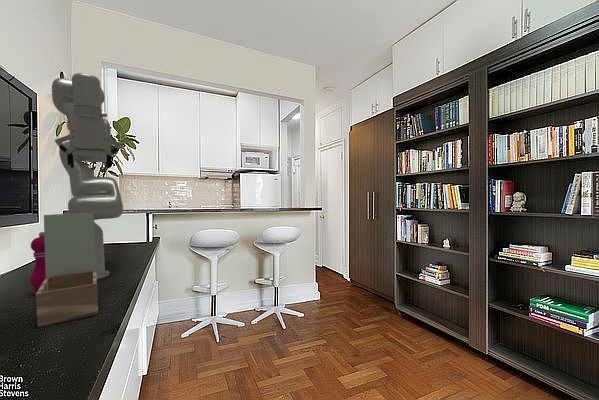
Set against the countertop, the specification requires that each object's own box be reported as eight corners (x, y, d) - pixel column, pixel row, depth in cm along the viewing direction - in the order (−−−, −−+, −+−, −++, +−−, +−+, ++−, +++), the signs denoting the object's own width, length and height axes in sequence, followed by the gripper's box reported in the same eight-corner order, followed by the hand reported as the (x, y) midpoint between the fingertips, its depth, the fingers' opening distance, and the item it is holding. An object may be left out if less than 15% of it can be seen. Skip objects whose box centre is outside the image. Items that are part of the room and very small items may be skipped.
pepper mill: (43, 296, 94) (39, 233, 93) (24, 295, 95) (21, 233, 95) (65, 289, 101) (62, 230, 101) (48, 288, 103) (44, 230, 102)
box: (47, 305, 86) (45, 277, 86) (97, 295, 93) (96, 270, 93) (37, 327, 71) (35, 294, 71) (98, 314, 78) (96, 284, 78)
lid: (45, 277, 86) (48, 276, 91) (96, 269, 93) (96, 269, 98) (43, 213, 88) (46, 216, 93) (93, 210, 95) (93, 213, 100)
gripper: (118, 120, 104) (120, 169, 105) (54, 114, 95) (57, 168, 95) (120, 115, 98) (122, 167, 99) (52, 108, 88) (55, 166, 89)
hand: (90, 167), depth 97 cm, fingers open, 9 cm apart
